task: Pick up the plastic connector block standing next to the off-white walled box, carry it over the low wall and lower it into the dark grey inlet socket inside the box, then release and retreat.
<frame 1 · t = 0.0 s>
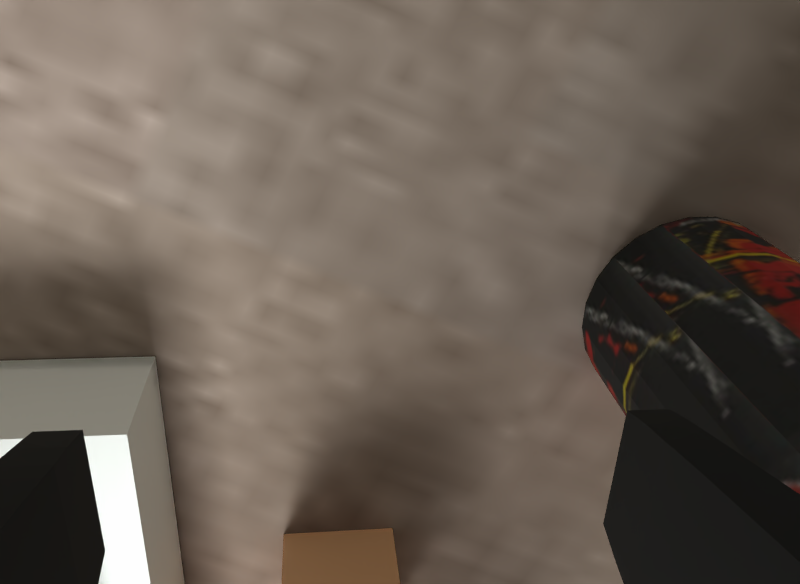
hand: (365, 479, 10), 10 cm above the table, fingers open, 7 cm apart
connector: (338, 570, 24), on the table
deodorant: (678, 309, 21), on the table
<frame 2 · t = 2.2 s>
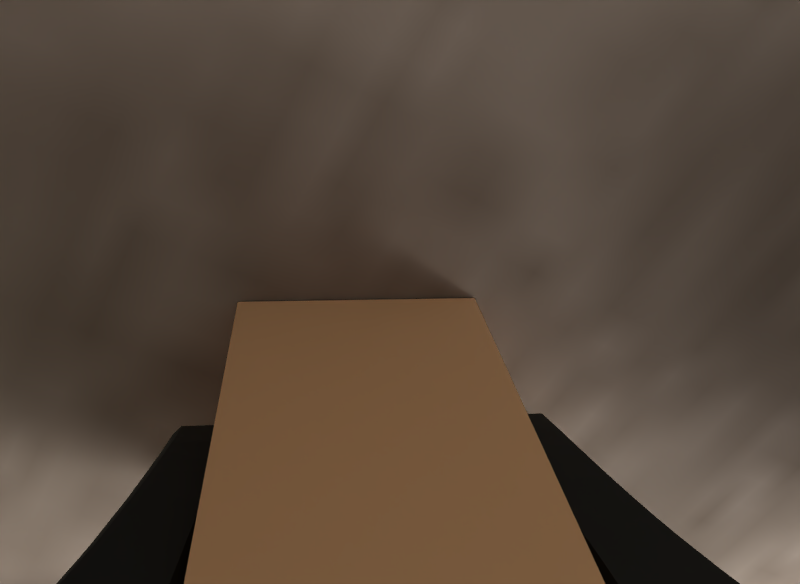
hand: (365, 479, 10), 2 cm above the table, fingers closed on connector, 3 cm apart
connector: (356, 398, 12), on the table, touching gripper
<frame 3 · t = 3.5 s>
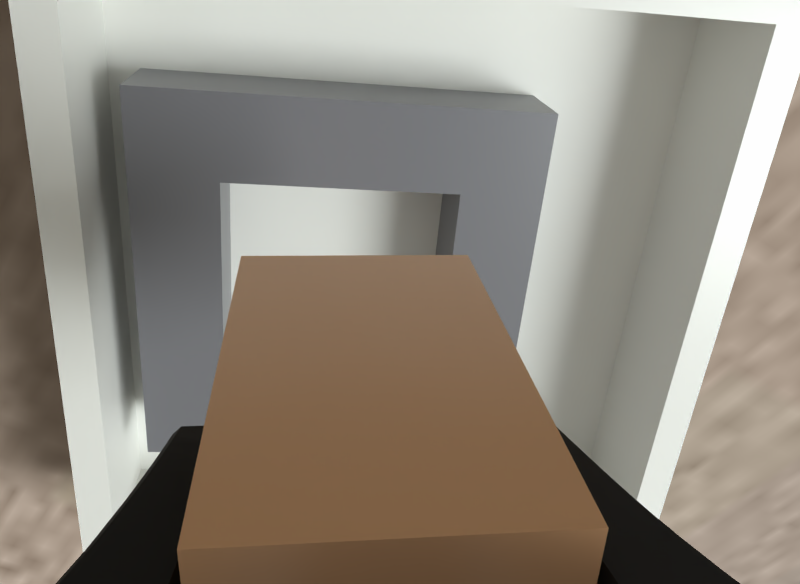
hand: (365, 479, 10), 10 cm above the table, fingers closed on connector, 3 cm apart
connector: (354, 353, 12), point 7 cm above the table, touching gripper
walled box: (390, 256, 19), on the table
inlet socket: (333, 253, 19), resting on walled box
when the fingers open (3 cm above the table, at t = 5.1 s): connector stays where it is, resting on walled box.
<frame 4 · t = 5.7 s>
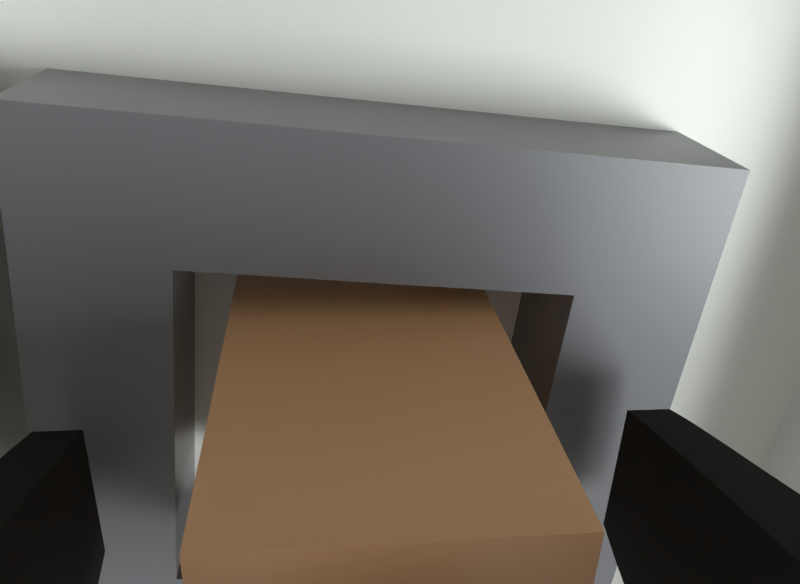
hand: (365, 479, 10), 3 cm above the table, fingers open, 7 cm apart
connector: (354, 352, 12), resting on walled box
walled box: (436, 360, 13), on the table
inlet socket: (352, 356, 13), resting on walled box
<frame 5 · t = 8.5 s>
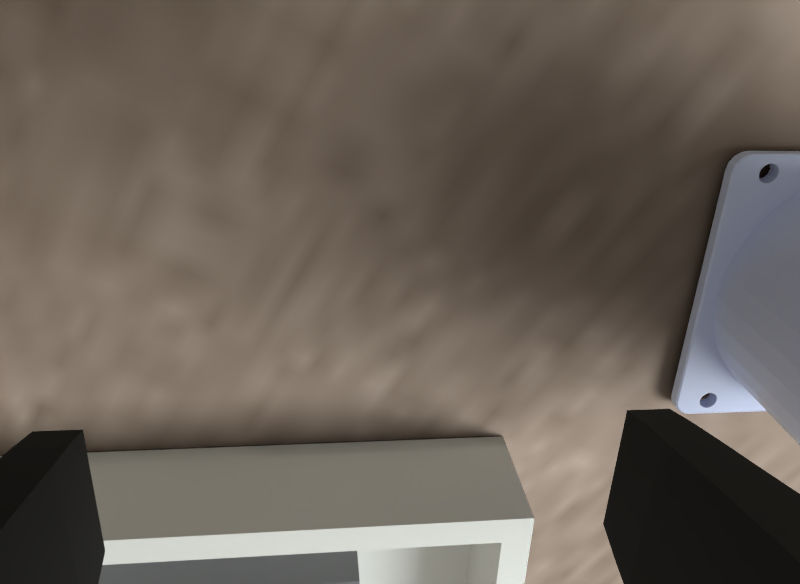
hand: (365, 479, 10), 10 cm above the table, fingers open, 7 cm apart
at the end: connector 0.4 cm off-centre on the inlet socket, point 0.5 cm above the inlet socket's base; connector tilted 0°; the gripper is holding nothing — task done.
